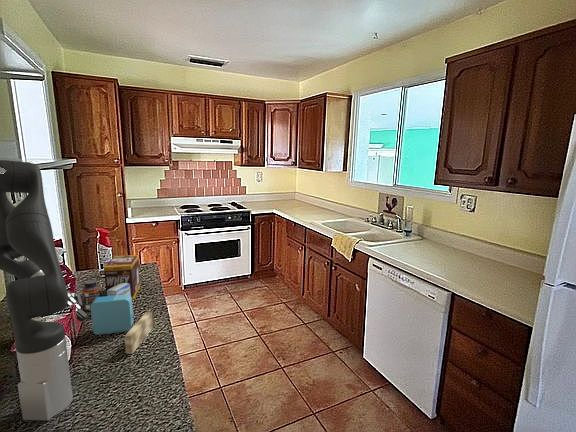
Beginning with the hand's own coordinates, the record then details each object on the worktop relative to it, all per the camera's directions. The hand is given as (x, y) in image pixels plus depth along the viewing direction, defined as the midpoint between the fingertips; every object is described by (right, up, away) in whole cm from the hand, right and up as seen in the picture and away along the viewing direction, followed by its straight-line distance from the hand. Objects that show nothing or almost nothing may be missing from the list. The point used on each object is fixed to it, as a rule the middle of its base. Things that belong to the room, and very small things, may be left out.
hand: (84, 318), depth 111 cm
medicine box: (+3, -1, +18) cm, 18 cm away
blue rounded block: (+10, -4, +1) cm, 11 cm away
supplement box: (-1, +1, +29) cm, 30 cm away
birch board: (+22, -5, -5) cm, 23 cm away
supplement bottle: (-7, -1, +16) cm, 18 cm away
